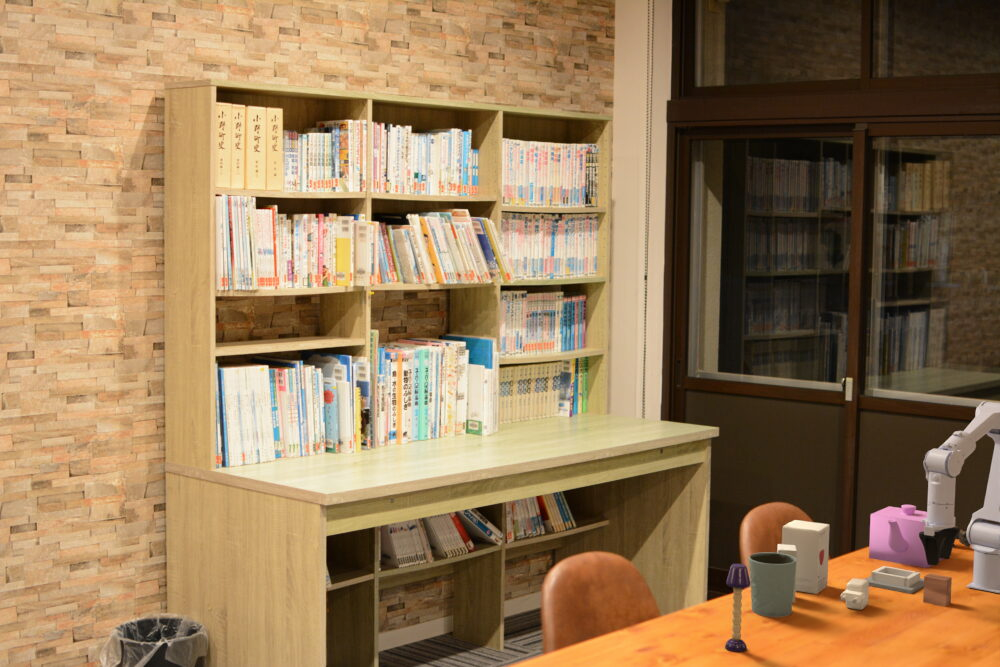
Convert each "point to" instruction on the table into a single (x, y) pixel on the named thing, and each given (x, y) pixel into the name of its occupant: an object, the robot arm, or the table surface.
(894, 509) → the pink knobbed box
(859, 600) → the power adapter
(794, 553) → the skincare box
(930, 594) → the block
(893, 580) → the grey framed tray
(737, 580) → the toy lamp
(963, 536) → the rhino figurine
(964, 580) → the table surface
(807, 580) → the supplement box
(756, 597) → the grey-green tapered cup
